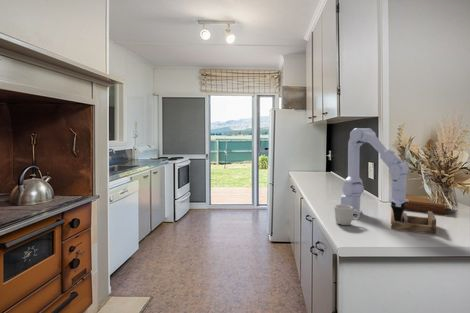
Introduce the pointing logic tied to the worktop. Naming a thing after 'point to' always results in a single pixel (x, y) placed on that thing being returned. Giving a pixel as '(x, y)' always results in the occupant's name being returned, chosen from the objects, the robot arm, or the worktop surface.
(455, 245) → the worktop surface
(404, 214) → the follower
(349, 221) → the cup
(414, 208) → the brown wooden flat block
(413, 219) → the brown wooden frame
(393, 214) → the jar
